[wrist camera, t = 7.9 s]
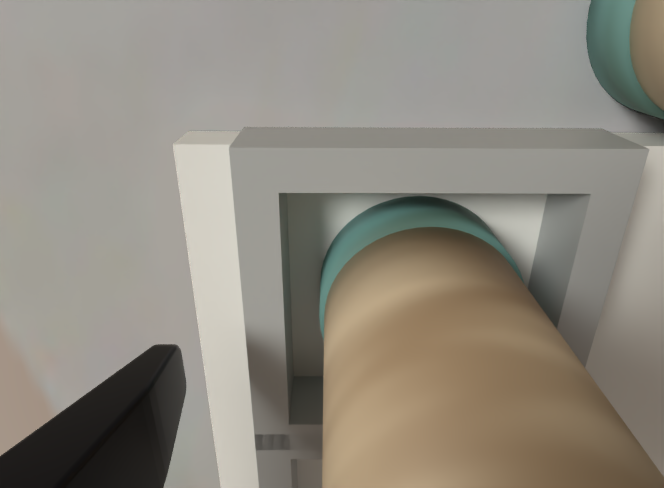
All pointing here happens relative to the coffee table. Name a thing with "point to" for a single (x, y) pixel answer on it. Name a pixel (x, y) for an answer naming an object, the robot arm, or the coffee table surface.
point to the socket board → (395, 182)
